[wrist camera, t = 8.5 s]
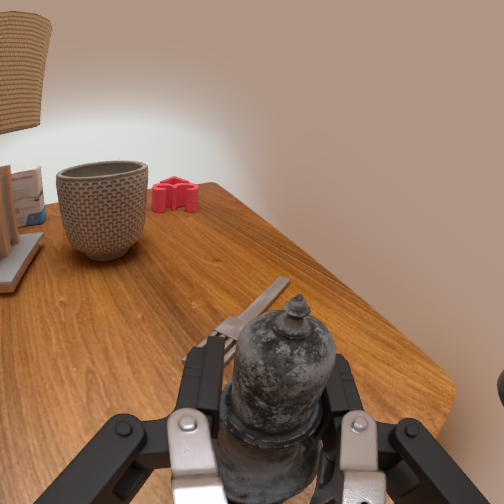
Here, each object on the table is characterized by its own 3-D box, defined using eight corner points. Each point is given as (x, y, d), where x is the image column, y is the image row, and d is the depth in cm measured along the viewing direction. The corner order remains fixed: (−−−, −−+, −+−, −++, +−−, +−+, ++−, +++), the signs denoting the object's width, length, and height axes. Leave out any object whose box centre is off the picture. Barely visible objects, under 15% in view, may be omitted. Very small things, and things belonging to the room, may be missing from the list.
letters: (154, 195, 69) (155, 176, 67) (193, 195, 72) (194, 176, 70) (151, 212, 57) (151, 189, 55) (198, 212, 60) (199, 189, 58)
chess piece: (173, 469, 11) (124, 286, 6) (244, 413, 16) (272, 230, 10) (258, 535, 8) (361, 454, 3) (323, 463, 12) (428, 292, 7)
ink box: (46, 216, 50) (42, 165, 45) (42, 224, 46) (36, 169, 41) (15, 221, 46) (9, 170, 41) (9, 229, 42) (2, 175, 37)
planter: (157, 235, 47) (157, 160, 42) (138, 277, 35) (132, 177, 29) (86, 232, 45) (81, 161, 39) (51, 270, 33) (37, 180, 27)
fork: (273, 277, 39) (274, 273, 38) (295, 285, 37) (296, 281, 37) (182, 363, 23) (181, 358, 23) (211, 380, 22) (211, 375, 22)
